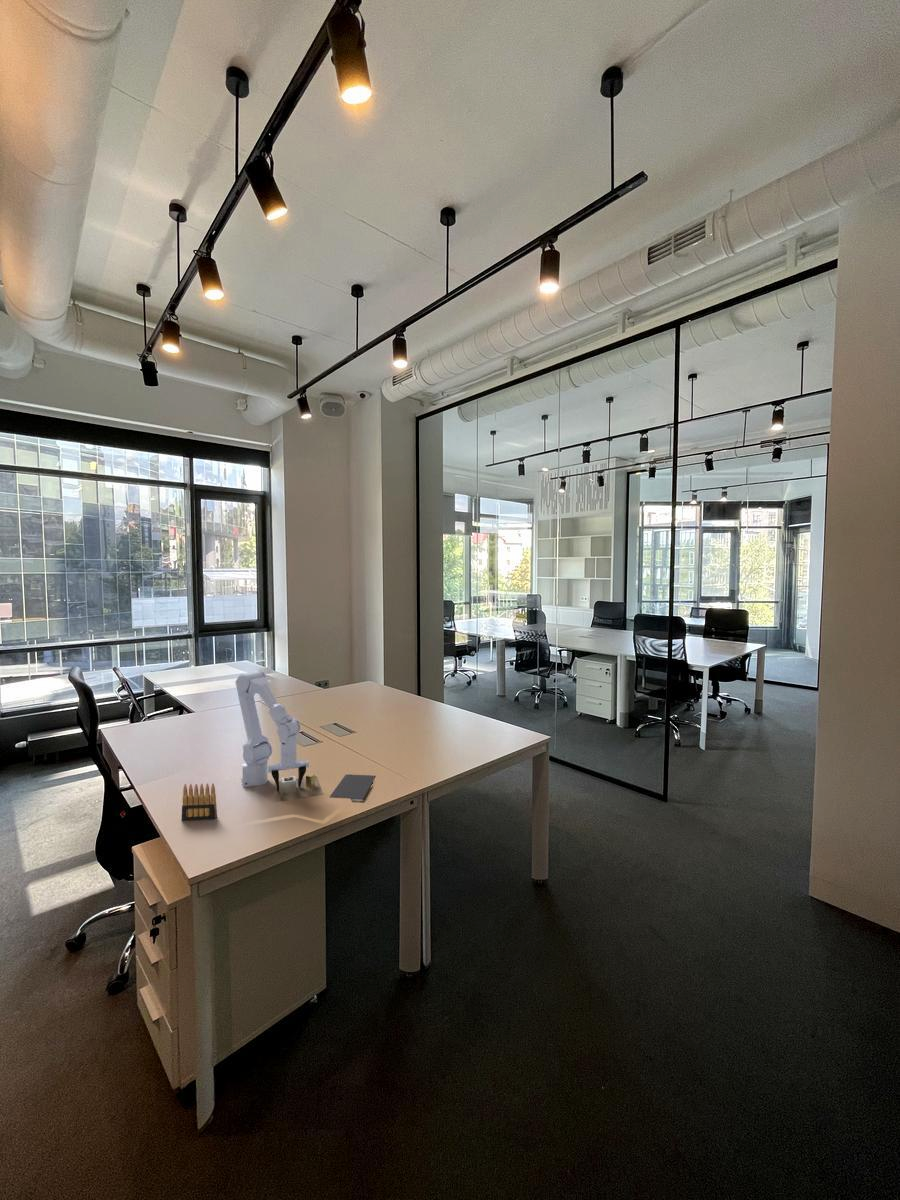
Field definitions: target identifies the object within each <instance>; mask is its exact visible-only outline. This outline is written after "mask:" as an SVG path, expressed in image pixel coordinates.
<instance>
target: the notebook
mask: <svg viewBox="0 0 900 1200" xmlns="http://www.w3.org/2000/svg"><path fill="white" fill-rule="evenodd" d="M376 777H377V775H370V774H368V775H367V774H366V775H365V774H345V775H344V776H343V777H342V779H341V781H340V782H339V783H338V785H337V786H336V787H335V788H334V790H333V791H332V793H331V794H330V796H329V798H332V799H334V798H335V799H349V800H351V802H360V801H363V800H364V801H365V799H366V797H367V796H368V794H369V792H370V790H371V788H372V787H371V785H372V784H373V785H374V783H375V779H376ZM373 782H374V783H373ZM373 785H372V786H373ZM370 787H371V788H370ZM369 789H370V790H369ZM368 791H369V792H368ZM367 793H368V794H367ZM364 801H363V802H364Z"/></svg>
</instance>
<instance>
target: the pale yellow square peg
mask: <svg viewBox="0 0 900 1200" xmlns="http://www.w3.org/2000/svg"><path fill="white" fill-rule="evenodd" d="M315 776H316V774H314V773H308V774H306V775H305V778H306V787H309V788H312V787H313V786H315Z"/></svg>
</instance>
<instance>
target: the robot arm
mask: <svg viewBox="0 0 900 1200" xmlns="http://www.w3.org/2000/svg"><path fill="white" fill-rule="evenodd" d="M268 681H269V678H268V676H267V675H266V673H265V672H264V671H262V670H256V671H253V672H248V673H242V674H239V675H238V677H237V678H236V680H235V687H236V692H237V695H238V700H239V706H240V710H241V715H242V719H243V724H244V728H245V733H246V737H247V739H246V741H245V742H244V744H243V745H242V750H243V753H242V758H243V760H244V763H242V777H241V783H242V788H243V787H244V788H246V787H251V786H253V787H256V786H261V785H264V784H266V783H268V782H269V781H268V780H269V779H268V777H269V776H268V775H269V773H271V777H272V778H273V780H274V782H275V785H276V791H278V792H279V781H280V779H279V778H280V773H279V771H284V770H285V771H288V770H294V769H297V773H298V776H297V777H298V778H297V779H298V787H301V782H302V779H303V778H304V776H305V774H306V772H307V768H309V767H310V762H309V760H298V759H297V756H298V755H297V752H298V751H297V750H298V749H297V748H298V746H297V744H298V743H297V741H298V739H297V736H298V733H299V732H300V730H301V726H300V722H299V720H298V719H296V718H294V717H292V716H291V715H290V713H289V712H288V711H287V709H286V707H285V706H284V704H282V703H278V700H277V699H276V697H275V695H274V694H273V692H272V690H271V688H270V686H269V684H268ZM256 694H258V695H259V697H260V698H261V699H262V700H263V701H264V703H265V705H266V706H267V707H268V708H269V711H268V715H270V717H271V719H272V721H273V722H274V724H275V725H276V727H277V729H276V732H277V735H278V737H279V743H280V762H279V763H276V764H272V765H268V762H269V761H270V756H272V754H273V747H272V745H271V743H270V742H269V738H268V737H267V736H264V735H263V733H262V729H261V724H260V719H259V714H258V710H257V706H256V700H255V697H254V696H255V695H256Z"/></svg>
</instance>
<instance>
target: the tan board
mask: <svg viewBox="0 0 900 1200" xmlns="http://www.w3.org/2000/svg"><path fill="white" fill-rule="evenodd" d="M319 781H320V780H319V779H318V776H316V775H315V786H313V787H312V788H309V787H306V777H303V779H302V782H301V787H298V778H296V791H294V792H287V793H282V789H281V780H279V791H278V793H279V798H280V802H286V801H292V800H297V799H304V798H309V797H315V796H322V795H324V791H323V789H322V786H321V784H320V782H319Z"/></svg>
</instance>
